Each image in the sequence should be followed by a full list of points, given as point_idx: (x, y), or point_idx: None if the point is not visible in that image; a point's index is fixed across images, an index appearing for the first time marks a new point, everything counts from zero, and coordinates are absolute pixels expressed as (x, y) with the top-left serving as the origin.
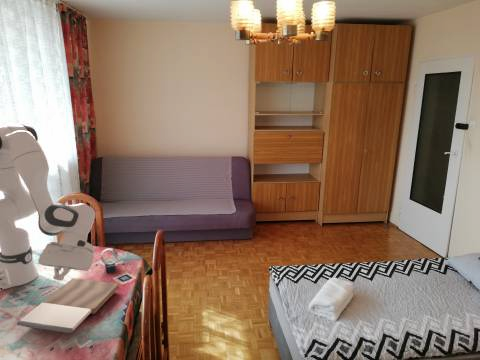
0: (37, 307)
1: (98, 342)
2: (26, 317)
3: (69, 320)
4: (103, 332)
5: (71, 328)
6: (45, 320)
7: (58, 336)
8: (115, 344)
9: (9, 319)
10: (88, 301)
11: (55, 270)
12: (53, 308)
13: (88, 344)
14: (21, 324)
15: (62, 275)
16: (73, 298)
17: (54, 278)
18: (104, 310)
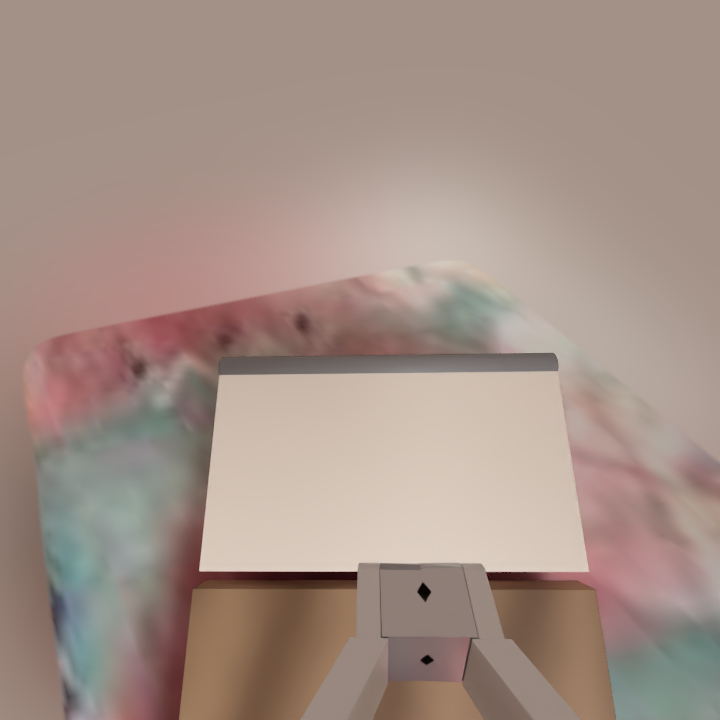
0: (567, 507)
1: (118, 397)
2: (543, 402)
3: (273, 430)
4: (122, 466)
5: (219, 368)
6: (412, 402)
7: None
8: (35, 402)
9: (679, 456)
10: (277, 673)
11: (542, 712)
12: (454, 520)
13: (158, 377)
14: (521, 353)
15: (356, 639)
16: (412, 688)
17: (461, 563)
18: None
